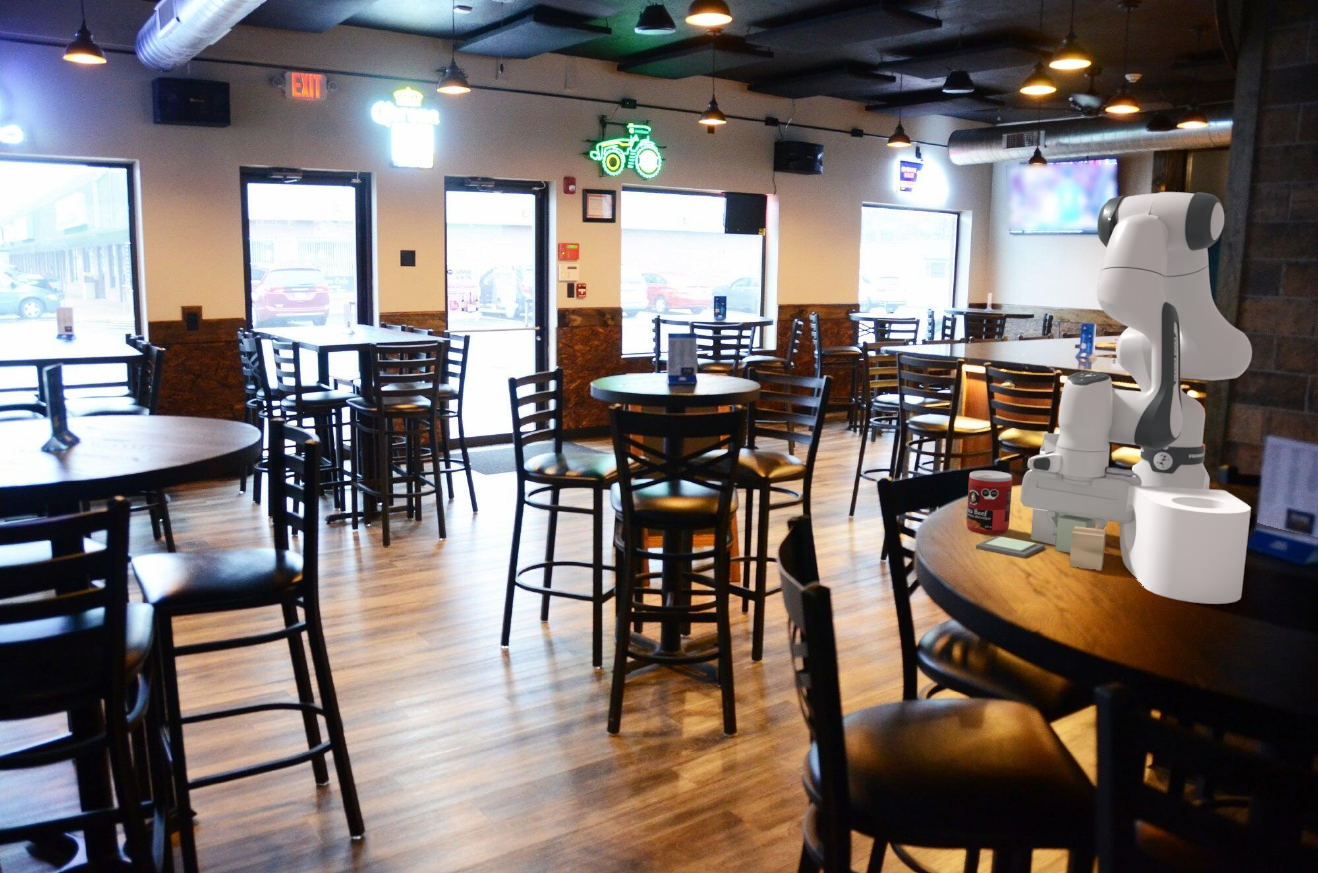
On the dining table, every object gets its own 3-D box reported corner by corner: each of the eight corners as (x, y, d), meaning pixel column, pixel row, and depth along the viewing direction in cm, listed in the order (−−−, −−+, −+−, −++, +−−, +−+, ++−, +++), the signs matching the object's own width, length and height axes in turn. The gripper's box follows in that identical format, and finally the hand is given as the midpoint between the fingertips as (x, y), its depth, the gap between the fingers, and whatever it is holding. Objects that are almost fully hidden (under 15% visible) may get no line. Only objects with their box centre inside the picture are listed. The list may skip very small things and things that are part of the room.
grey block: (1045, 535, 199) (1047, 504, 198) (1069, 541, 196) (1072, 509, 195) (1030, 539, 196) (1033, 508, 195) (1055, 545, 193) (1057, 513, 192)
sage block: (1066, 545, 193) (1068, 513, 192) (1093, 550, 189) (1096, 517, 188) (1055, 550, 189) (1057, 518, 188) (1083, 555, 186) (1086, 522, 185)
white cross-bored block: (1255, 607, 159) (1203, 562, 183) (1265, 515, 156) (1211, 482, 180) (1154, 600, 161) (1116, 556, 186) (1162, 510, 159) (1123, 477, 183)
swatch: (997, 539, 196) (997, 534, 196) (1044, 548, 190) (1044, 543, 190) (976, 548, 189) (976, 543, 189) (1024, 557, 184) (1024, 553, 183)
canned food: (957, 526, 205) (961, 471, 203) (990, 523, 208) (993, 469, 206) (984, 536, 198) (987, 479, 196) (1017, 532, 201) (1021, 476, 199)
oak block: (1072, 559, 183) (1075, 526, 182) (1103, 563, 181) (1106, 529, 180) (1069, 566, 179) (1072, 532, 178) (1100, 570, 177) (1103, 536, 176)
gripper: (1148, 469, 182) (1141, 546, 184) (1033, 453, 195) (1028, 525, 198) (1136, 474, 177) (1129, 553, 180) (1019, 458, 191) (1014, 531, 193)
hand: (1075, 538), depth 189 cm, fingers closed on sage block, 5 cm apart
